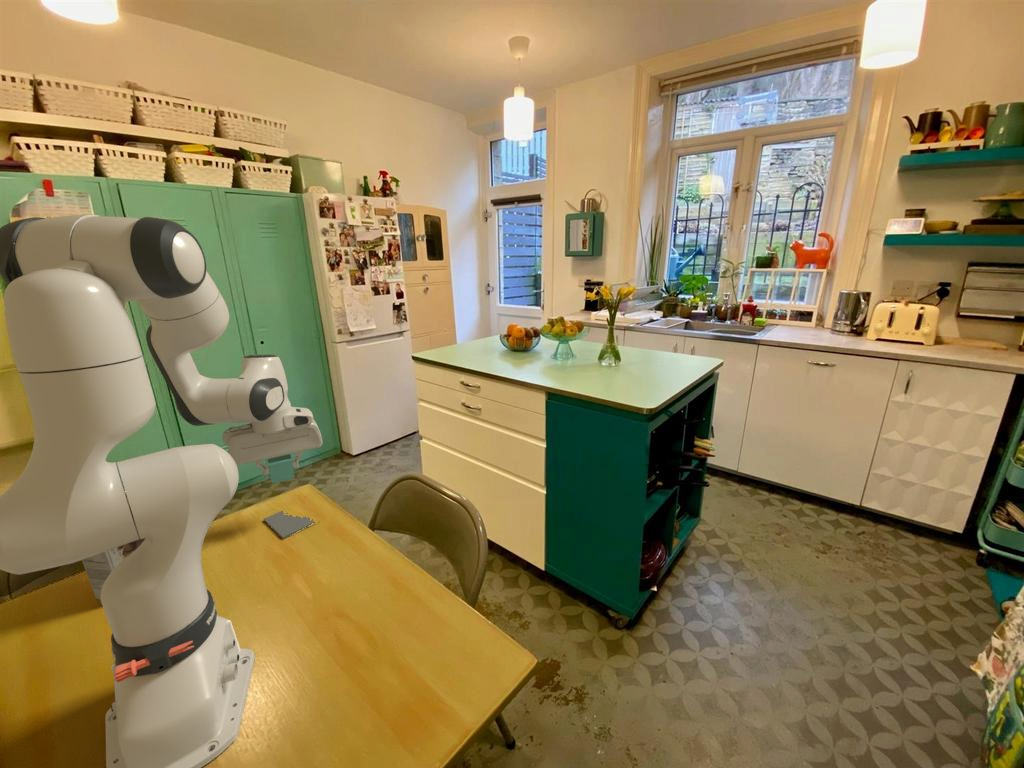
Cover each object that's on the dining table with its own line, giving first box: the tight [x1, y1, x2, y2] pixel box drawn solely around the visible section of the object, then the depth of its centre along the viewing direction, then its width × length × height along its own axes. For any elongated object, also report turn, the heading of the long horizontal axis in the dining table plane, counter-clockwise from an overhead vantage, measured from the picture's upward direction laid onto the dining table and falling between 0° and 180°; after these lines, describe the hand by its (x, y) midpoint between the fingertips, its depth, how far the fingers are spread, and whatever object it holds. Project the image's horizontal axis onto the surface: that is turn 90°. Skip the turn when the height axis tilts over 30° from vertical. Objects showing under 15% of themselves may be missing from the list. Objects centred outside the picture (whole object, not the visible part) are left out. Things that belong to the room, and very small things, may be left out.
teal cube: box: [267, 454, 296, 484], centre depth 105 cm, size 5×5×5 cm
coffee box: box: [81, 507, 145, 601], centre depth 86 cm, size 9×6×16 cm
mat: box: [263, 510, 315, 539], centre depth 109 cm, size 12×9×1 cm
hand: (281, 470), depth 105 cm, fingers closed on teal cube, 5 cm apart
